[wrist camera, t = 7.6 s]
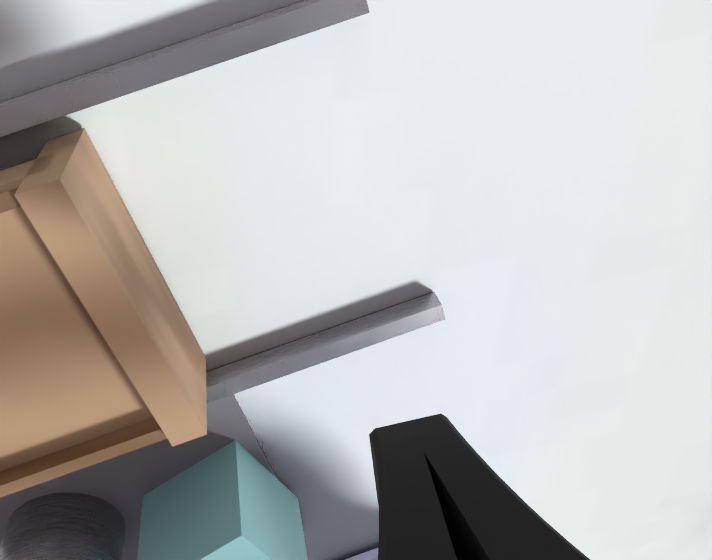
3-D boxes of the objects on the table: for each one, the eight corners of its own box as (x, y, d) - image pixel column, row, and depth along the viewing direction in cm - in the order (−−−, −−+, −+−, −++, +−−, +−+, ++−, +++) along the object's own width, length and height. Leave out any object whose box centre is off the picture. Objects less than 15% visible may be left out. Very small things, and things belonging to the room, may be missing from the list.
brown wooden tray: (206, 357, 21) (207, 434, 18) (-18, 436, 21) (-54, 526, 18) (84, 128, 17) (59, 179, 14) (-200, 224, 16) (-288, 297, 13)
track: (437, 305, 22) (449, 326, 21) (-51, 478, 21) (-64, 507, 20) (356, -18, 16) (366, -11, 15) (-309, 206, 16) (-343, 228, 15)
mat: (302, 527, 26) (303, 534, 26) (65, 613, 26) (63, 620, 26) (229, 386, 22) (229, 392, 22) (-57, 487, 22) (-60, 495, 21)
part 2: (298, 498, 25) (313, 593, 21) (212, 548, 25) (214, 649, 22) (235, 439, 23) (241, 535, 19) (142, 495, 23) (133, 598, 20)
